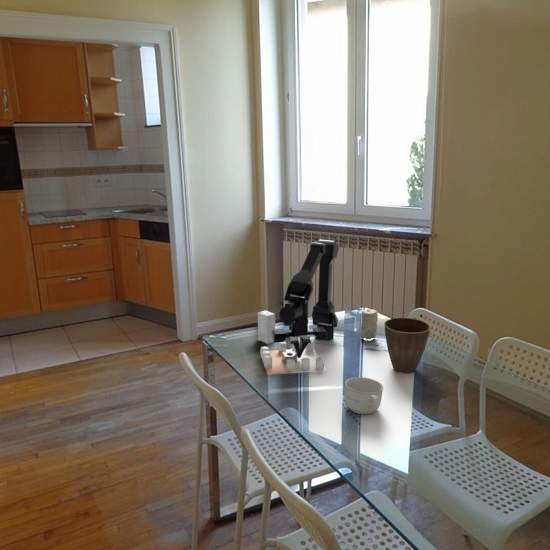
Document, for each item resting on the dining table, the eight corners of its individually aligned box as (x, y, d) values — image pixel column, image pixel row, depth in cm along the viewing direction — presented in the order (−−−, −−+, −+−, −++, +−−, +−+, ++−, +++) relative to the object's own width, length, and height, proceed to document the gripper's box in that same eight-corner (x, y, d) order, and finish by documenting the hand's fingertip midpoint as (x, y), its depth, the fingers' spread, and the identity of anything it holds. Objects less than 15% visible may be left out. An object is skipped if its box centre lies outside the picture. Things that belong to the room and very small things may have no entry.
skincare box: (276, 343, 197) (276, 313, 194) (267, 346, 194) (267, 316, 191) (266, 339, 201) (266, 309, 198) (257, 341, 199) (257, 311, 196)
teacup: (340, 400, 153) (341, 376, 152) (375, 399, 154) (377, 375, 152) (350, 425, 140) (352, 398, 138) (389, 424, 141) (391, 397, 139)
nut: (294, 357, 181) (294, 351, 181) (297, 362, 177) (297, 356, 177) (282, 358, 181) (282, 351, 180) (284, 363, 177) (284, 356, 176)
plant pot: (394, 380, 167) (397, 334, 163) (373, 362, 181) (376, 319, 177) (435, 375, 171) (439, 330, 167) (411, 358, 185) (415, 316, 181)
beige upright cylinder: (357, 341, 200) (359, 312, 197) (362, 335, 207) (363, 306, 204) (373, 344, 197) (375, 314, 194) (377, 337, 204) (379, 308, 201)
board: (313, 350, 191) (313, 339, 189) (327, 373, 171) (327, 361, 170) (258, 353, 187) (258, 341, 186) (266, 377, 168) (266, 364, 167)
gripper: (320, 306, 185) (319, 347, 188) (269, 309, 182) (268, 350, 185) (328, 316, 174) (327, 359, 178) (274, 319, 171) (273, 362, 175)
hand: (298, 357), depth 179 cm, fingers closed
